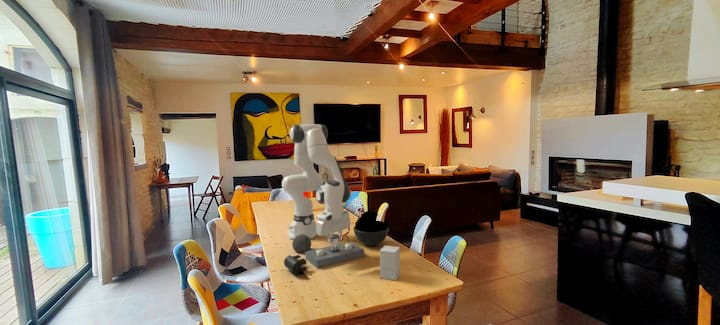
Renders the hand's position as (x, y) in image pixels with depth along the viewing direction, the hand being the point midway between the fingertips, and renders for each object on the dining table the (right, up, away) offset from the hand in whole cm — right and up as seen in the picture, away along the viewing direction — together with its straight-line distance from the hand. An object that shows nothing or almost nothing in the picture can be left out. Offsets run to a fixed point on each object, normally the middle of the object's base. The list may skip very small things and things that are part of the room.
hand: (334, 240), depth 164 cm
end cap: (-17, -12, -13) cm, 24 cm away
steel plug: (0, -8, 0) cm, 8 cm away
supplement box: (+26, -12, -18) cm, 34 cm away
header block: (0, -10, +1) cm, 10 cm away
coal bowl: (+19, -8, +23) cm, 31 cm away
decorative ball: (-18, -10, +11) cm, 23 cm away
